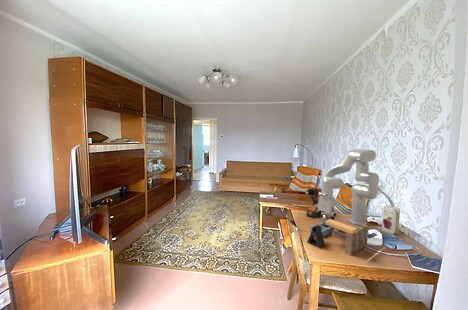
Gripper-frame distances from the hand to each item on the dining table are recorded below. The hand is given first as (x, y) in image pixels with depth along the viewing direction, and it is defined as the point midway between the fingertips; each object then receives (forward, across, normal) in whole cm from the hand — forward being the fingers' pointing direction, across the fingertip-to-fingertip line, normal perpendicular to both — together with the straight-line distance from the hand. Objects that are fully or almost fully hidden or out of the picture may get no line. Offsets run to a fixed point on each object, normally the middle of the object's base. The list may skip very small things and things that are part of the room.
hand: (325, 219), depth 141 cm
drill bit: (+9, 0, 0) cm, 9 cm away
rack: (+10, 0, -4) cm, 10 cm away
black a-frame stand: (+10, +6, -20) cm, 24 cm away
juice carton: (+10, +26, +42) cm, 50 cm away
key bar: (-3, +17, -13) cm, 22 cm away
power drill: (+10, -23, +20) cm, 32 cm away
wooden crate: (+10, +16, -5) cm, 19 cm away
